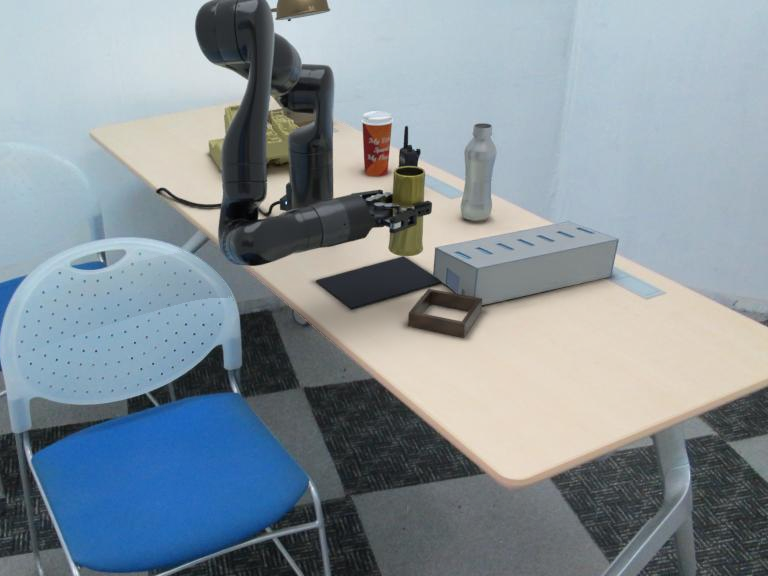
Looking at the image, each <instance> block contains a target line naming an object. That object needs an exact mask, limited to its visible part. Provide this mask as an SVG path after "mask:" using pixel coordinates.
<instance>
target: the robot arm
mask: <svg viewBox="0 0 768 576" xmlns="http://www.w3.org/2000/svg"><path fill="white" fill-rule="evenodd" d="M271 9H272V8H271V7H270V4H269V2H268V0H208V1H206V2H205V3H204V4H202V5H201V6H200V7H199V9H198V11H197V12H196V16H195V20H194V32H195V38H196V41H197V44H198V47H199V49H200V51H201V52H202V54H203V56H204V57H205V58H206V59H207V60H208V61H209V62H210V63H211V64H212V65H215V66H218V67H221V68H224V69H227V70H229V71H232V72H234V73H235V74H237V75H238V76H241V78H243V79H245V80H247V84H246V88H245V91H244V94H243V97H242V99H241V101H240V104H239V105H240V106H239V108H238V110H237V112H236V114H235V116H234V118H233V120H232V122H231V124H230V126H229V128H228V130H227V132H226V134H225V135H224V141H223V145H222V151H221V165H222V171H221V182H222V184H221V186H222V187H221V188H222V199H221V202H220V203H208V204H207V203H198V202H193V201H189V200H187V199H183V198H180V197H178V196H176V195H175V194H173V193H172V192H171V191H170V190H168V189H167V188H166V187H159V188H157V190H156V191H155V193H157V194H159V193H160V192H164V193H165V194H167V195H168V196H169V197H170V198H172V199H173V200H175V201H177V202H180V203H183V204H185V205H188V206H191V207H197V208H205V209H208V208H209V209H210V208H211V209H213V208H220V210H219V211H220V212H219V217H218V230H217V237H218V238H217V239H218V246H219V249H220V253H221V254H222V256H223V257H224V259H225V260H227V261H228V262H229V263H231V264H233V265H238V266H247V267H258V266H262V265H267V264H271V263H274V262H276V261H279V260H281V259H284V258H286V257H289V256H291V255H293V254H300V253H305V252H308V251H313V250H317V249H323V248H331V247H334V246H339V245H343V244H347V243H351V242H355V241H359V240H363V239H366V237H367V236H368V235H369V234H370V232H371V231H372V229H374V228H375V229H376V228H384V227H387V228H389V229H388V230H389V231H388V233H389V234H390V233H397V232H399V231H402V230H405V229H407V228H410V227H412V226H415V225H417V217H420V216H423V217H424V216H427V215H431V214H432V212H433V211H432V210H433V202H432V201H430V200H424V202H420V203H416V204H412V205H400V204H399V203H392V199H393V192H390V191H386V192H384V190H383V189H374V190H366V191H360V192H353V193H350V194H347V195H342V196H338V197H334V112H335V110H334V107H335V87H336V85H335V84H336V83H335V75H334V71H333V69H332V67H331V66H329V65H327V64H315V63H314V64H311V63H310V64H309V63H308V64H307V63H303V62H302V58H301V56H300V54H299V52H298V50H297V49H296V47H295V46H294V45H293V44H292V43H290V41H289V40H288V39H286V38H285V37H284V36H282V35H281V34H279V33H277V32H275V23H274V17H273V12H271ZM271 97H272V98H273V99H274V101H276V103H277V104H278V105H279V106H280V109H282V108H283V109H284V110H285V111H287V112H291V113H301V114H315V121H314V122H312V123H310V124H308V125H306V126H303V127H300V128H297V129H295V130H293V131H291V132H290V133H289V135H288V156H289V162H288V177H289V178H288V179H289V180H288V181H289V182H287V183H286V184H285V194H284V195H283V196H281V197H280V198H279V200H276V201H274V202H273V203H271V204H270V205H269V208H268V210H267V212H265V211H264V210H262V209H261V208H260V206H261V204H262V203H263V202H264V201H265V200H266V198H267V196H268V195H267V194H268V171H267V169H268V168H267V167H268V166H267V165H268V164H267V165H266V134H267V122H268V111H270V110H269V109H270V101H271ZM278 205H279V210H280V211H283V212H281V213H280V214H278V215H274V216H270V215H272V212H273V209H274V207H276V206H278ZM393 209H395V215H393ZM406 210H407V211H406ZM402 211H406V212H403V213H401V212H402ZM260 215H263V216H264V218H259V216H260Z"/></svg>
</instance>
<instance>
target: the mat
mask: <svg viewBox="0 0 768 576" xmlns="http://www.w3.org/2000/svg"><path fill="white" fill-rule="evenodd" d="M315 283H317V284H318V285H319V286H320V287H321V288H323V289H325V290H326V291H327V292H328V293H329V294H331V295H332V296H333V297H334V298H336V299H337V300H338V301H340V302H341V303H342V304H343V305H345V306H346V307H347V308H348V309H350V310H354V309H358V308H361V307H364V306H368V305H371V304H375V303H378V302H382V301H385V300H388V299H389V300H390V299H393V298H395V297H399V296H403V295H406V294H409V293H412V292H417V291H419V290H423V289H426V288H431V287H433V286H436V285H440V284H443V282H442V281H440V280H439V279H438V278H437V277H435V276H434V275H433V274H432V273H431V272H429V271H427V270H426V269H424V268H422V267H421V266H419V265H418V264H416V263H415V262H413V261H412V260H410V259H409V258H407V257H406V256H399V257H396V258H392V259H389V260H385V261H381V262H378V263H373V264H369V265H366V266H362V267H359V268H355V269H352V270H348V271H345V272H341V273H337V274H333V275H329V276H325V277H323V278H319V279H315Z"/></svg>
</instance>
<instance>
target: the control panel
mask: <svg viewBox="0 0 768 576" xmlns="http://www.w3.org/2000/svg"><path fill="white" fill-rule="evenodd" d="M239 106H240V104H236V105H229V106H227V107H225V108H224V114H223V119H224V120H223V121H224V131H225V133H224V134H225V135H226V132H227V130H228V128H229V126H230V124H231V122H232V120H233V118H234V116H235V114H236V112H237V110H238V108H239ZM270 111H271V110H270ZM274 113H281V115H279V114H278V115H273V114H274ZM270 114H271V120H272V123H271V126H270V124H269V122H268V121H267V134H266V165H268V164H274V165H277V166H278V165H284V163H289V156H288V135H289V133H290V132H291V131H293V130H295V129H297V128H299V127H298V126H297V125H295V124H294V121H293V120H290V119H289V118H287V117H286V116H284V115H283V110H281V111H279V112H272V111H271V112H270ZM223 141H224V138H217V139H209V140H208V152H209V153H208V154H209V156H211V158H212V159H213V161H214V163H215V165H216V166H217V168H218V169H219V171H220V172H222V165H221V151H222V145H223Z"/></svg>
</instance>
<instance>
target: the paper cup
mask: <svg viewBox="0 0 768 576" xmlns="http://www.w3.org/2000/svg"><path fill="white" fill-rule="evenodd" d="M360 122H361V123H362V143H363V144H362V145H363V164H364V174H365V175H367V176H370V177H383V176H386V175H387V174H388V171H389V160H390V150H391V140H392V139H391V138H392V125H393V124H392V123H393V122H394V118H393V115H392V113H390V112H387V111H383V110H374V111H372V110H371V111H367V112H364V114H362V118H361V120H360Z"/></svg>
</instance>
